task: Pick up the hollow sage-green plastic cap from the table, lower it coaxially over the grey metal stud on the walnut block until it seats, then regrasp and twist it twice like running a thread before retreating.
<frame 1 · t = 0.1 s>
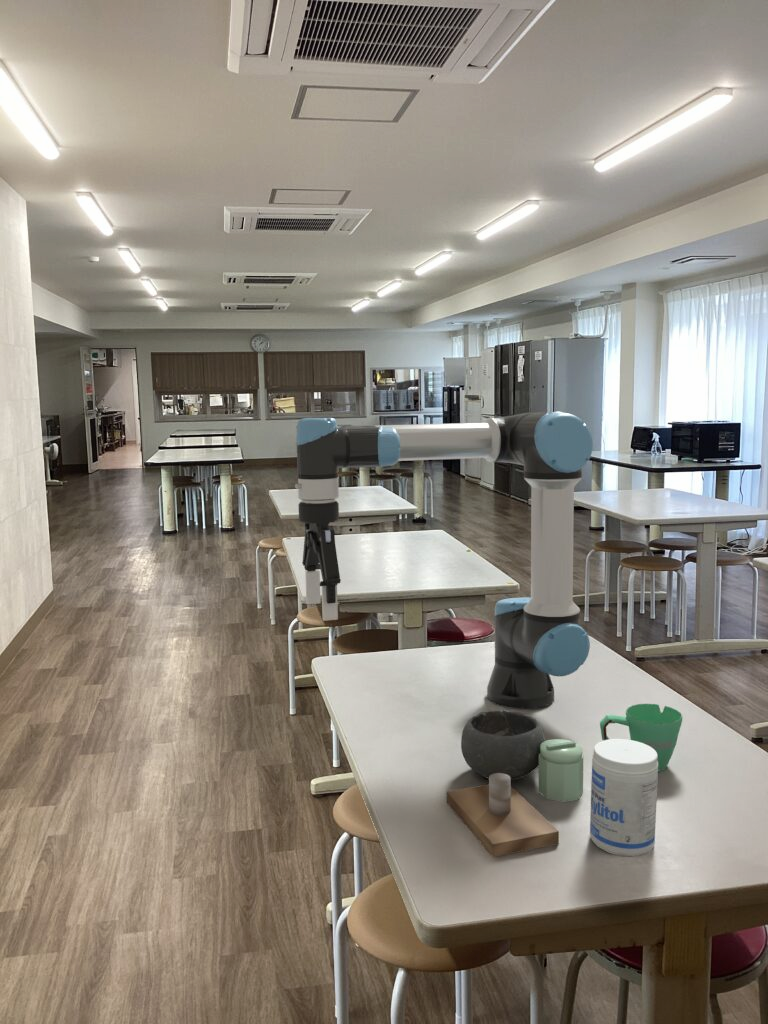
hand: (321, 611, 158), 28 cm above the table, fingers open, 13 cm apart
supplement tub: (622, 843, 126), on the table
bowl: (502, 776, 150), on the table
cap: (560, 791, 143), on the table
stud block: (499, 822, 133), on the table
mug: (639, 766, 153), on the table
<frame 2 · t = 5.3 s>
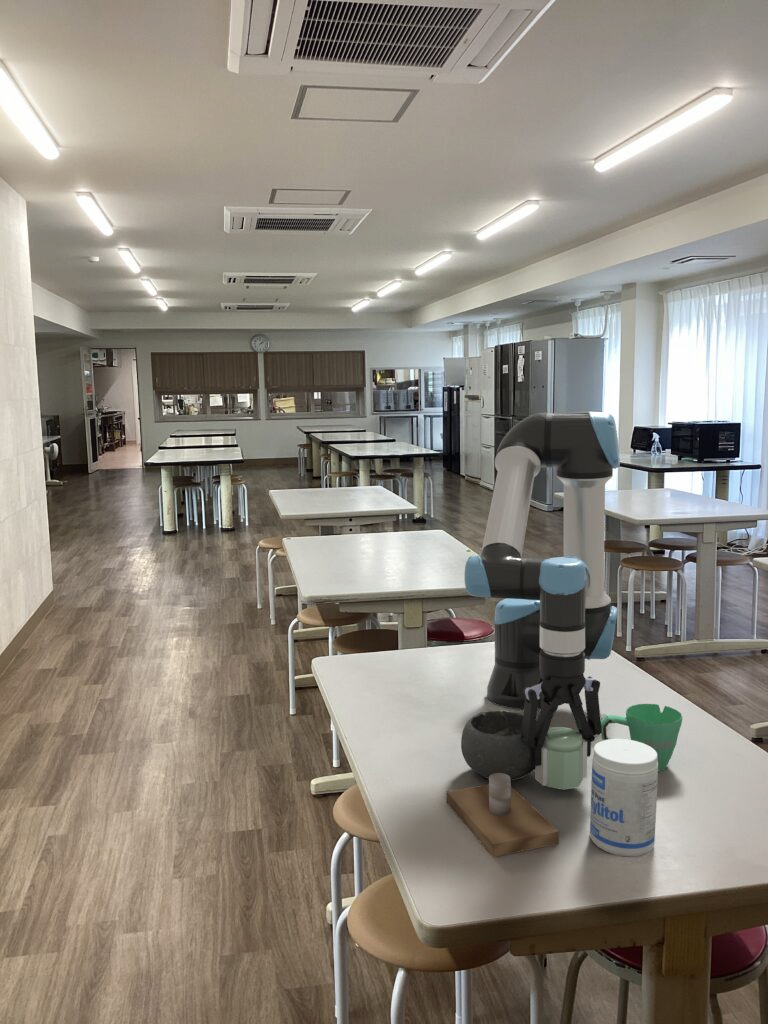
hand: (561, 777, 143), 2 cm above the table, fingers closed on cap, 7 cm apart
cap: (560, 779, 144), point 2 cm above the table, touching gripper
everything else where it was.
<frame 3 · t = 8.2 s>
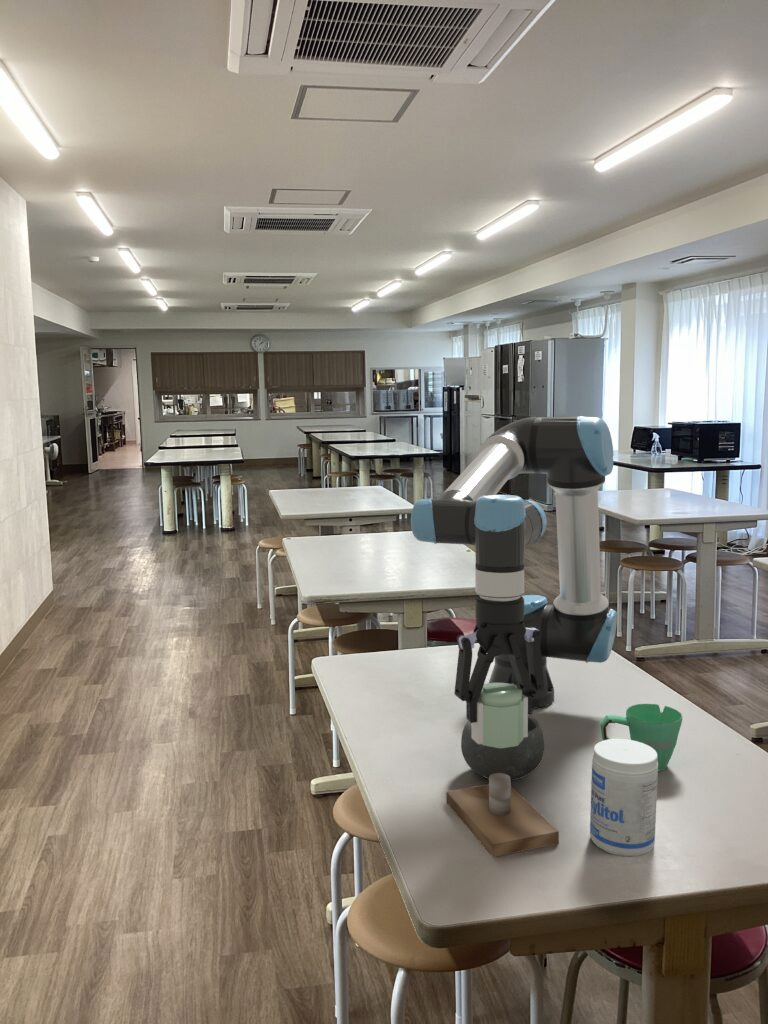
hand: (499, 737, 131), 14 cm above the table, fingers closed on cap, 7 cm apart
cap: (499, 738, 131), point 14 cm above the table, touching gripper
everything else where it was.
when the fingers open (3 cm above the table, at t = 10.9 s): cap stays where it is, resting on stud block.
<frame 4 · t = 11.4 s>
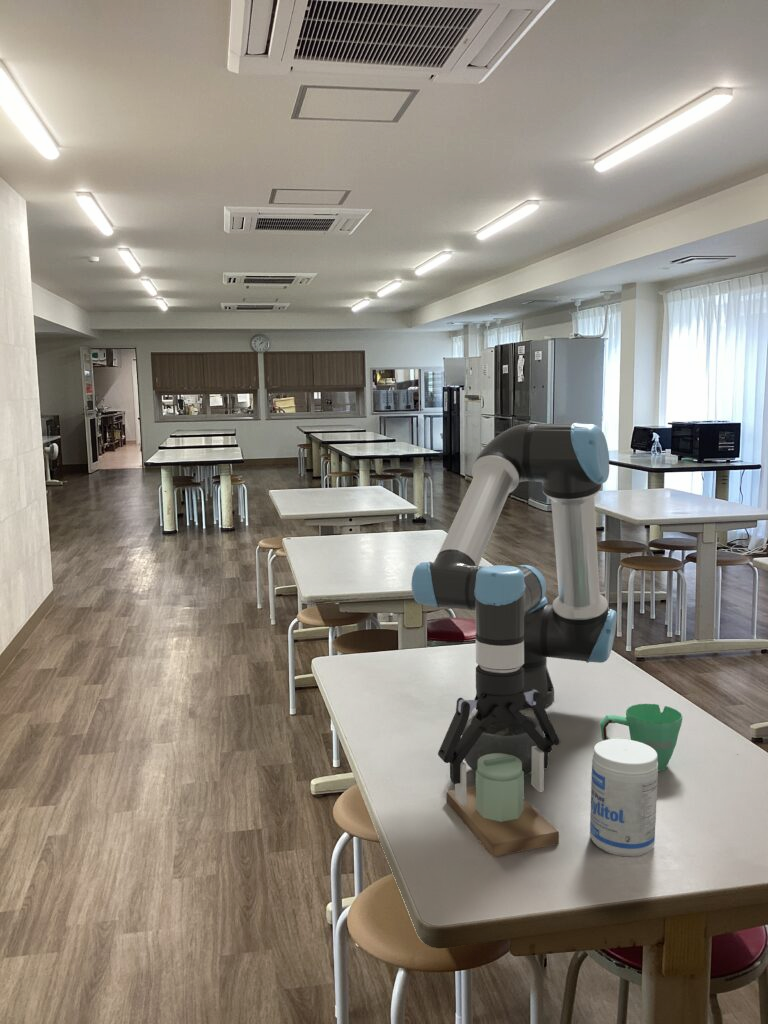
hand: (499, 794, 132), 5 cm above the table, fingers open, 13 cm apart
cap: (499, 810, 133), point 2 cm above the table, touching stud block
everything else where it was.
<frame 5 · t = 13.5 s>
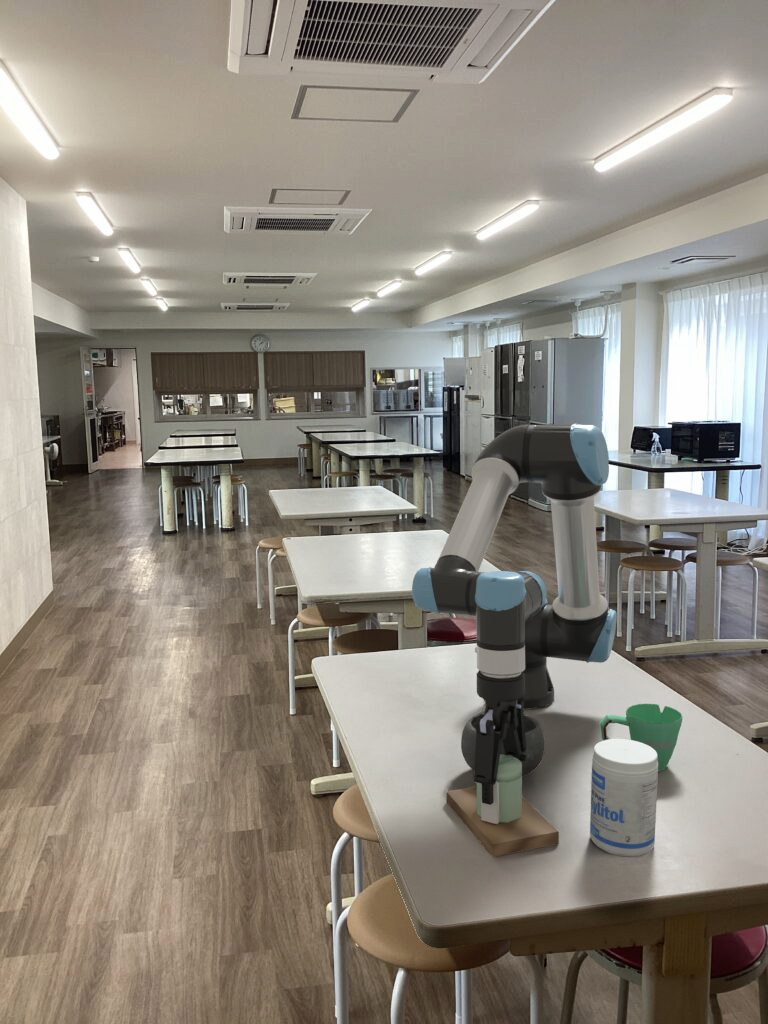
hand: (501, 809, 132), 2 cm above the table, fingers open, 8 cm apart
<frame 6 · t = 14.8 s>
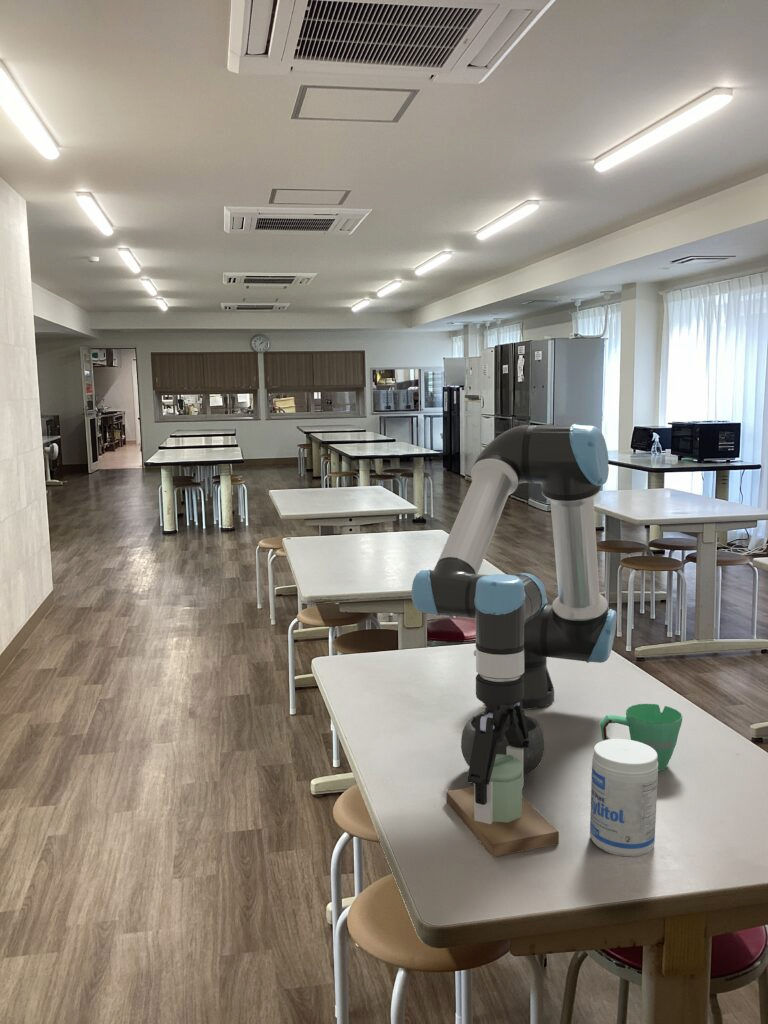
hand: (499, 802, 133), 3 cm above the table, fingers open, 13 cm apart
nothing on the table moved.
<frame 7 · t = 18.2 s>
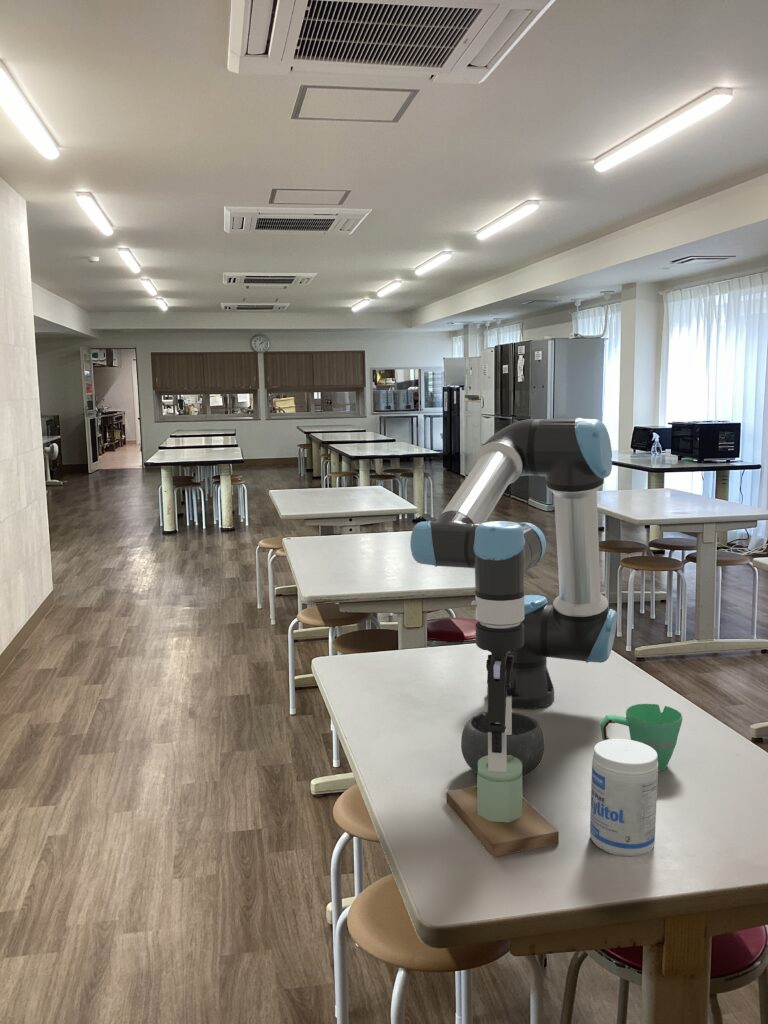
hand: (500, 751, 132), 12 cm above the table, fingers open, 13 cm apart
nothing on the table moved.
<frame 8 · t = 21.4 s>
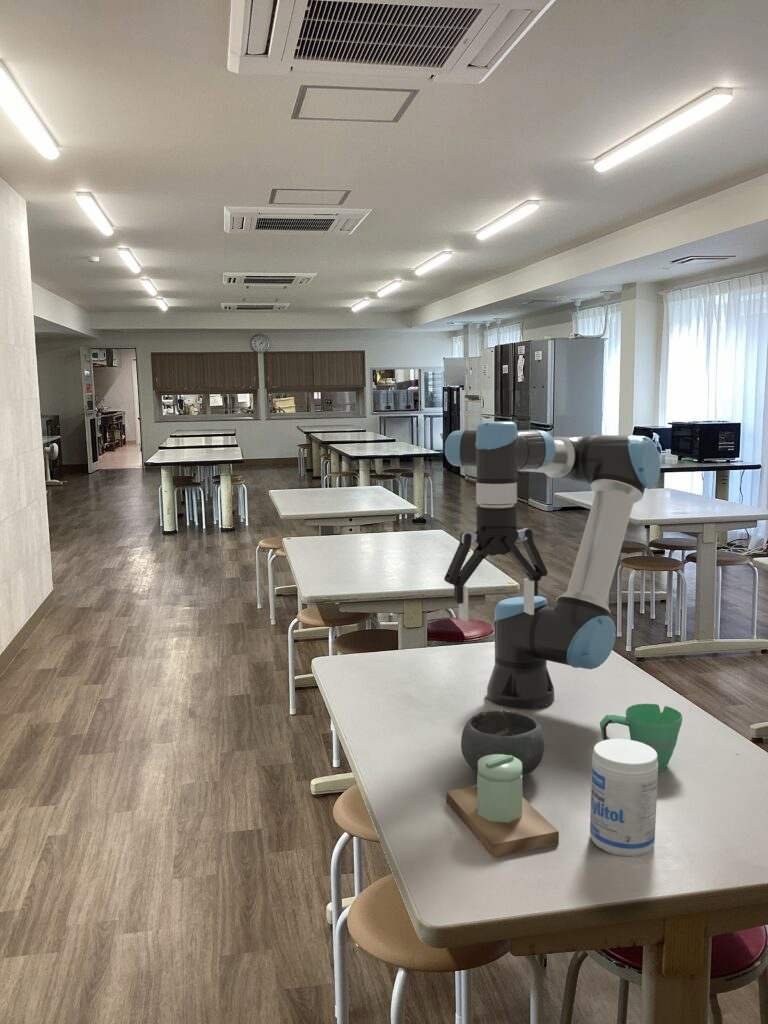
hand: (496, 616, 157), 27 cm above the table, fingers open, 13 cm apart
nothing on the table moved.
at the end: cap 0.2 cm off-centre on the stud block, point 2.0 cm above the stud block's base; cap tilted 0°; the gripper is holding nothing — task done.
